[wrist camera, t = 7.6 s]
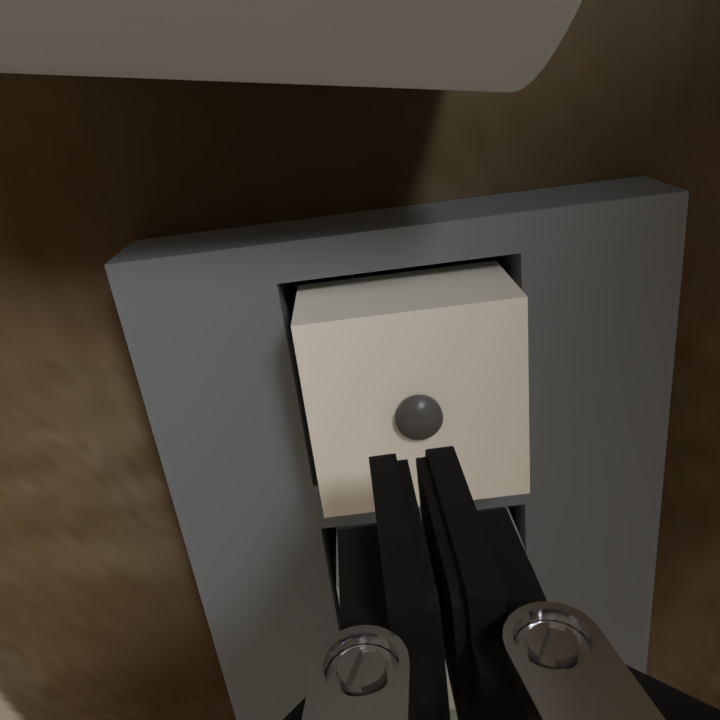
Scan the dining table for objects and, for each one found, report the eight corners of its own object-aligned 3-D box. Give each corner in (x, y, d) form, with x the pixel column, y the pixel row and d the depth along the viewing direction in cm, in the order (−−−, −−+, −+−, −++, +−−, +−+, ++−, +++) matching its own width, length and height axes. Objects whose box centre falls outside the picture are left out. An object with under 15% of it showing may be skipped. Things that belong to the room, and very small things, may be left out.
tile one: (496, 260, 17) (530, 299, 14) (501, 432, 19) (532, 497, 16) (297, 285, 17) (289, 329, 14) (325, 453, 19) (323, 523, 16)
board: (642, 175, 17) (689, 190, 15) (609, 739, 27) (634, 801, 24) (133, 240, 18) (104, 264, 15) (276, 776, 27) (271, 842, 25)
